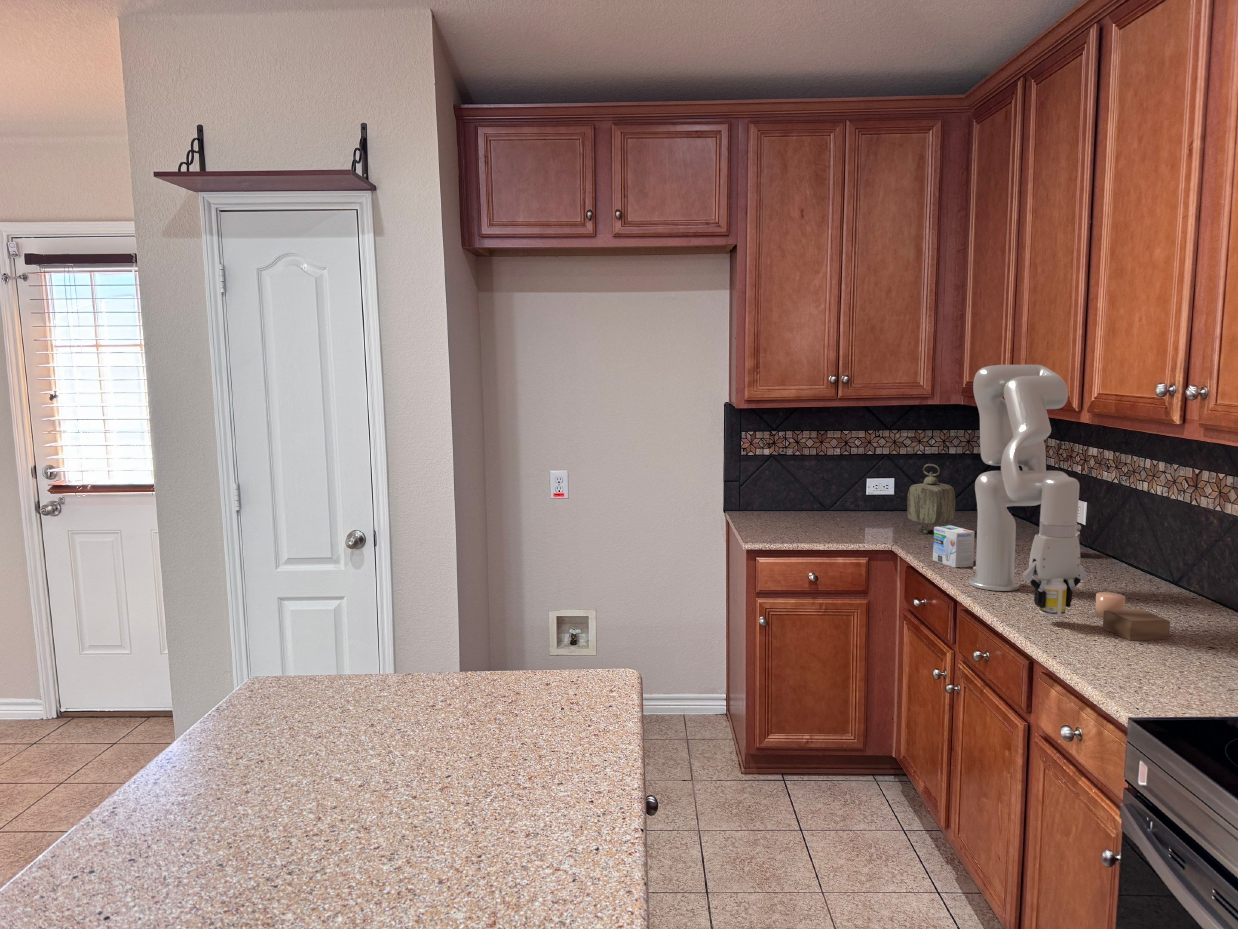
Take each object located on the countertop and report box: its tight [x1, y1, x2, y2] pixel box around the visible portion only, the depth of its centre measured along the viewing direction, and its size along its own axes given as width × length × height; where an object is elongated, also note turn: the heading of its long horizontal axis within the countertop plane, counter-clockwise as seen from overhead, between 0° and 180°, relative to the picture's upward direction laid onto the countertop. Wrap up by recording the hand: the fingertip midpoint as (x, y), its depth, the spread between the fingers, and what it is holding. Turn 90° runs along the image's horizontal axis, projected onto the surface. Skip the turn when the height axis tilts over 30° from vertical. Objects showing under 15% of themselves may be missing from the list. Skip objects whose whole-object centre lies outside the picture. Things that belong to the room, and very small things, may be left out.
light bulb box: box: [932, 525, 975, 568], centre depth 250 cm, size 11×7×11 cm, turn 18°
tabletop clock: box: [906, 463, 956, 535], centre depth 295 cm, size 14×9×25 cm, turn 32°
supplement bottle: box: [1038, 579, 1067, 618], centre depth 191 cm, size 5×5×10 cm
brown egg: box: [1094, 591, 1126, 619], centre depth 197 cm, size 6×6×5 cm
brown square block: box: [1102, 608, 1171, 641], centre depth 184 cm, size 9×9×4 cm
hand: (1052, 605), depth 192 cm, fingers closed on supplement bottle, 5 cm apart
